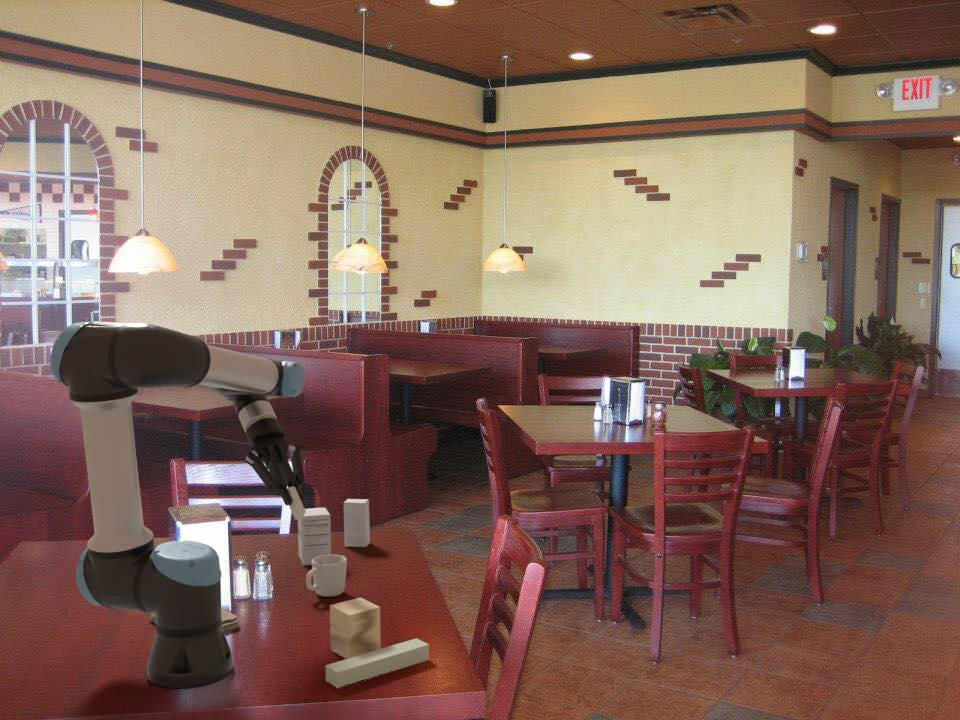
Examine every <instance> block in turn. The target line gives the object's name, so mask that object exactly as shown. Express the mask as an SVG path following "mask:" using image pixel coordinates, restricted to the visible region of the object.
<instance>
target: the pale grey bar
mask: <svg viewBox="0 0 960 720" xmlns="http://www.w3.org/2000/svg"><path fill="white" fill-rule="evenodd" d="M427 661H430V644H429V643H427V642H425V641H423V640H421V639H419V638H418V637H416V638H413V639H409V640H406V641H404V642H403V641H402V642H399V643H396V644H393V645H390V646H387V647H381V649H379V650H375V651H372V652H369V653H365V654H362V655H359V656H355V657H352V658H349V659H345V658H344V659H341V660H339V661H336V662H333V663H329V664H325V682H326V681H327V682H326V683H328V682H329V683H330V684H329V683H328V684H329V685H331V684H332V685H333V686H332V685H331V686H332V687H334V686H335V687H336V689H337V688H338V689H341V688H340V687H342V688H344V687H343V686H345V685H348V684H351V685H353V684H352V683H354V684H356V683H355V682H357V683H359V682H358V681H361V680H364V681H366V680H365V679H367V680H370V679H372V677H373V678H376V677H379V676H378V675H380V676H382V675H381V674H383V675H386V674H389V673H392V672H394V671H398V670H401V669H405V668H408V667H410V666H413V665H417V664H421V663H424V662H427ZM391 671H392V672H391ZM388 672H389V673H388ZM385 673H386V674H385ZM375 676H376V677H375ZM369 678H370V679H369ZM361 682H362V681H361ZM348 686H349V685H348ZM335 687H334V688H335ZM345 687H346V686H345Z"/></svg>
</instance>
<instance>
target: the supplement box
mask: <svg viewBox="0 0 960 720" xmlns="http://www.w3.org/2000/svg"><path fill="white" fill-rule="evenodd" d="M304 509H305V511H306V512H305V514H304V516H303V517H302V519H298V520H297V538H298V541H297V542H298V543H297V544H298V547H297V548H298V558H299V560H300V561H301V565H302V566H312V563H311V562H312V559H313V558H315V557H317V556H321V555H329V554H332V546H331V545H332V541H331V540H332V539H331V538H332V537H331V536H332V535H331V514H330V512H329V510H328V509H327V508H326V507H313V508H304Z"/></svg>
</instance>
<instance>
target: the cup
mask: <svg viewBox="0 0 960 720" xmlns="http://www.w3.org/2000/svg"><path fill="white" fill-rule="evenodd" d="M311 563H312V565H311V569H310V570H308V572H307V573H306V576H305V583H306V587H307V589H308V590H310V591H315V592H316V594H317V595H318V596H321V597H324V598H332V597H337V596H339V595H342V593H344V591H345V588H346V577H347V565H348V559H347V557H346V556H345V555H341V554H336V553H335V554H334V553H333V554H332V553H331V554H329V555H321V556H317V557H315V558H313V559H312V562H311ZM312 578H313V583H312ZM312 584H313V585H312Z"/></svg>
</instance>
